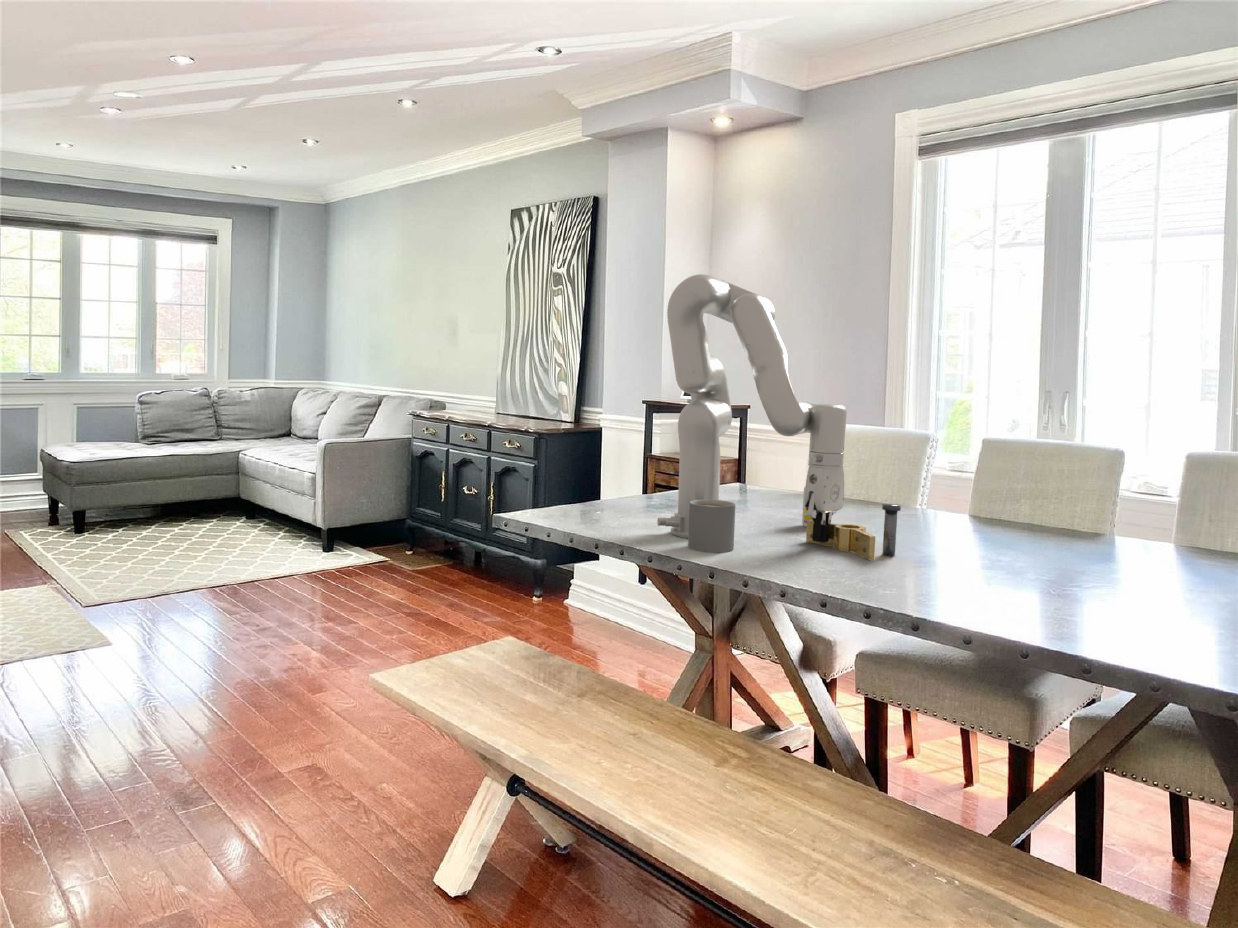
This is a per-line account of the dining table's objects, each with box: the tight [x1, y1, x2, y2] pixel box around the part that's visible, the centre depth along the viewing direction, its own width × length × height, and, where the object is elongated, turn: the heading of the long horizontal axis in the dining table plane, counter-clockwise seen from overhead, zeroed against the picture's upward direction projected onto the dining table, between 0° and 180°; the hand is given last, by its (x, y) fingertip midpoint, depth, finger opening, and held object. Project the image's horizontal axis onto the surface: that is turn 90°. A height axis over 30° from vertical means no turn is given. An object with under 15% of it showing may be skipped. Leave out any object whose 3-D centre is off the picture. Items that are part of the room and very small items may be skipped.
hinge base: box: [833, 523, 876, 561], centre depth 203 cm, size 6×14×5 cm, turn 10°
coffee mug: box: [687, 499, 736, 554], centre depth 205 cm, size 13×10×10 cm
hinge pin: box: [881, 503, 902, 558], centre depth 201 cm, size 4×4×11 cm
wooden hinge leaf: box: [805, 520, 838, 547], centre depth 211 cm, size 7×2×5 cm, turn 49°
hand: (820, 541), depth 208 cm, fingers closed
